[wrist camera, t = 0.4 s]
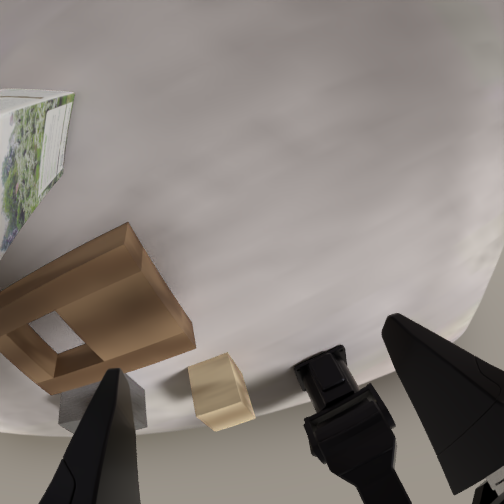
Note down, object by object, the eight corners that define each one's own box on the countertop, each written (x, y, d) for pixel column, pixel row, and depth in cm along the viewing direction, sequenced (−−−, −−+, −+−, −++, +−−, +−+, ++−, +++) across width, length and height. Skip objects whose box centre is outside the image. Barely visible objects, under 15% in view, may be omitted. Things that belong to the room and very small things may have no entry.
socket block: (191, 322, 27) (196, 348, 24) (54, 372, 26) (51, 395, 24) (128, 221, 20) (124, 244, 18) (-16, 301, 20) (-27, 324, 17)
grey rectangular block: (144, 388, 31) (147, 427, 27) (86, 405, 31) (85, 440, 26) (121, 368, 28) (121, 409, 24) (62, 387, 28) (58, 424, 24)
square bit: (241, 373, 33) (255, 418, 28) (205, 386, 33) (215, 431, 28) (227, 352, 30) (241, 401, 25) (187, 366, 30) (196, 416, 25)
